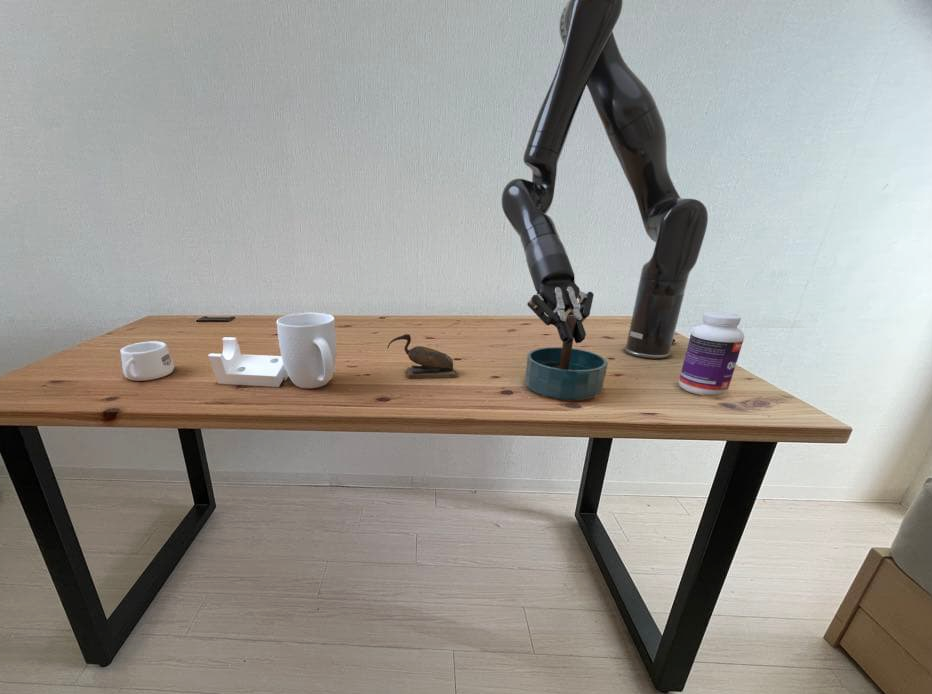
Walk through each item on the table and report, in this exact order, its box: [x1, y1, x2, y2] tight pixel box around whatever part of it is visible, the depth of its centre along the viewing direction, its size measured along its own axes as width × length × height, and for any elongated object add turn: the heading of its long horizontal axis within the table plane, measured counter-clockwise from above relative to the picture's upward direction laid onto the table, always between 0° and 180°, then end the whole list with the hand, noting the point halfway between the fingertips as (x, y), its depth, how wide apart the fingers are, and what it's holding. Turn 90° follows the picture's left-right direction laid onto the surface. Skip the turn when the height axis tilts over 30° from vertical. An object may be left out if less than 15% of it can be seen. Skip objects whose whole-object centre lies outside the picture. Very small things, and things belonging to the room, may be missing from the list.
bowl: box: [524, 346, 609, 401], centre depth 87 cm, size 14×14×6 cm
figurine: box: [387, 333, 456, 379], centre depth 94 cm, size 14×4×9 cm, turn 92°
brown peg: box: [552, 316, 577, 370], centre depth 87 cm, size 5×5×12 cm
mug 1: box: [120, 340, 175, 382], centre depth 95 cm, size 12×10×6 cm
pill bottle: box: [677, 310, 745, 397], centre depth 83 cm, size 8×8×14 cm
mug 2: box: [276, 312, 338, 389], centre depth 88 cm, size 15×11×13 cm
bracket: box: [207, 336, 289, 388], centre depth 92 cm, size 13×7×8 cm, turn 80°
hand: (574, 341), depth 84 cm, fingers closed on brown peg
